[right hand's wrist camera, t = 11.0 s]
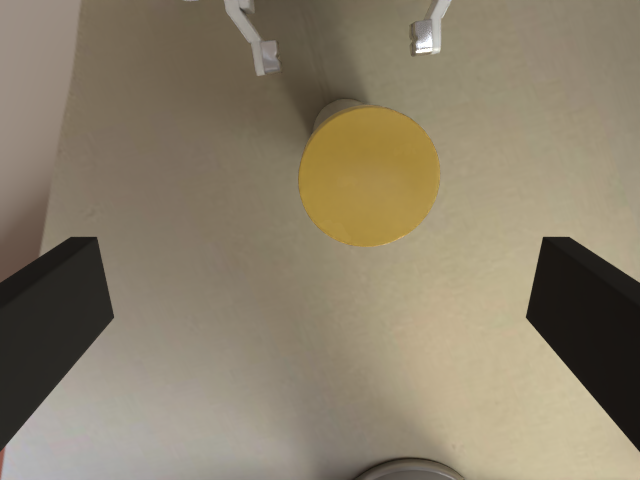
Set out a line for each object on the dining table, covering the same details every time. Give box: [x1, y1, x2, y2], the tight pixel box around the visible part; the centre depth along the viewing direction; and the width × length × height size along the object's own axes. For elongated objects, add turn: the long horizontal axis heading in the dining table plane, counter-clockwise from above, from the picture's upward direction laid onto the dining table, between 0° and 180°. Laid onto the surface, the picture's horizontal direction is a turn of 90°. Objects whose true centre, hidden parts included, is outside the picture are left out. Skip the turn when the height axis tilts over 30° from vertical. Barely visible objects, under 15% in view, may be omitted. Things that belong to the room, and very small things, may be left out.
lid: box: [298, 105, 440, 247], centre depth 18 cm, size 6×6×2 cm
